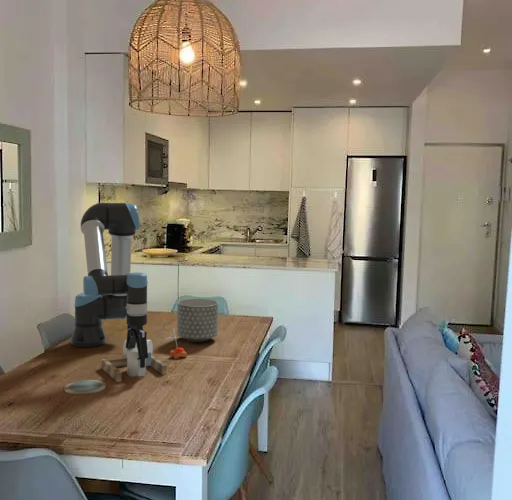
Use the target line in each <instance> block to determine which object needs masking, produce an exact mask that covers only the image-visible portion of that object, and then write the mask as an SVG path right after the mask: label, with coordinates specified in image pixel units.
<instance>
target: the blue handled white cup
mask: <svg viewBox="0 0 512 500" xmlns="http://www.w3.org/2000/svg"><path fill="white" fill-rule="evenodd" d="M137 358H139V355H138V350H137V348H131V349H128V350H127V365H126V375H127V376H129V377H139V376H138V360H137ZM150 365H151V352H148V358H146V359H145V375H146V374H147V367H149V366H150ZM150 367H151V366H150Z"/></svg>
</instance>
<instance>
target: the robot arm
mask: <svg viewBox="0 0 512 500" xmlns="http://www.w3.org/2000/svg"><path fill="white" fill-rule="evenodd" d="M139 229H140V215H139V210H138V206H137V205H136V204H135V203H128V202H97V203H95V204H92V205H90V206H89V208H87V209H86V211H85V212H84V213H83V215H82V217H81V221H80V231H81V234H83V238H84V249H85V259H86V269H87V271H86V272H87V275H85V276H84V277H83V280H82V281H83V282H82V284H83V285H82V289H83V292H81V293H79V294H76V295H75V298H74V305H73V306H74V328H73V332H72V334H71V338H70V344H71V345H72V346H73V347H77V348H95V347H99V346H102V345H105V344H106V342H107V341H106V340H107V339H106V338H107V337H106V334H105V332H104V328H103V324H102V323H103V322H102V321H103V320H105V321H106V320H119V319H122V320H124V319H126V325H127V329H126V330H127V332H126V339H127V340H126V339H125V340H126V348H127V350H128V349H131V348H135V345H136V344H137V350H138V355H139V358H137V360H138V376H137V377H143V376H144V377H145V376H146V374H145V359H146V358H148V349H147V340H148V339H147V335H148V334H147V333H148V332H147V331H145V330H144V327H143V326H145V325H147V323H148V315H147V313H148V275H147V274H146V273H145V272H144V273H143V272H131V264H132V263H131V262H132V239H133V237H134V236H135V235H136V231H138V230H139ZM105 230H108V234H109V236H110V237H111V259H110V275H109V272H108V263H107V257H106V255H107V254H106V248H105V240H104V232H105Z"/></svg>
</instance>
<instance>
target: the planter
mask: <svg viewBox="0 0 512 500" xmlns="http://www.w3.org/2000/svg"><path fill="white" fill-rule="evenodd" d="M176 310H177V311H176V312H177V313H176V314H177V315H176V316H177V319H176V328H177V329H176V336H178V337H180V338H182V339H184V340H186V341H188V342H191V343H203V342H206V341H209V340H211V339H212V338H215V337H216V336H218V329H219V328H218V327H219V322H218V320H219V302H218V301H217V300H215V299H210V298H209V299H208V298H207V299H206V298H187V299H186V298H185V299H181V300H178V301H177V309H176Z"/></svg>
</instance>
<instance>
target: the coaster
mask: <svg viewBox="0 0 512 500" xmlns="http://www.w3.org/2000/svg"><path fill="white" fill-rule="evenodd" d="M106 388H107V384H106V382H104V381H103V380H98V379H82V380H77V381H76V380H75V381H72V382H69V383H67V384H66V385H65V386H64V387H63V391H64V393H65V392H66V393H67V394H70V395H77V396H85V395H92V394H96V393H99V392H102V391H103V390H105V389H106Z"/></svg>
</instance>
